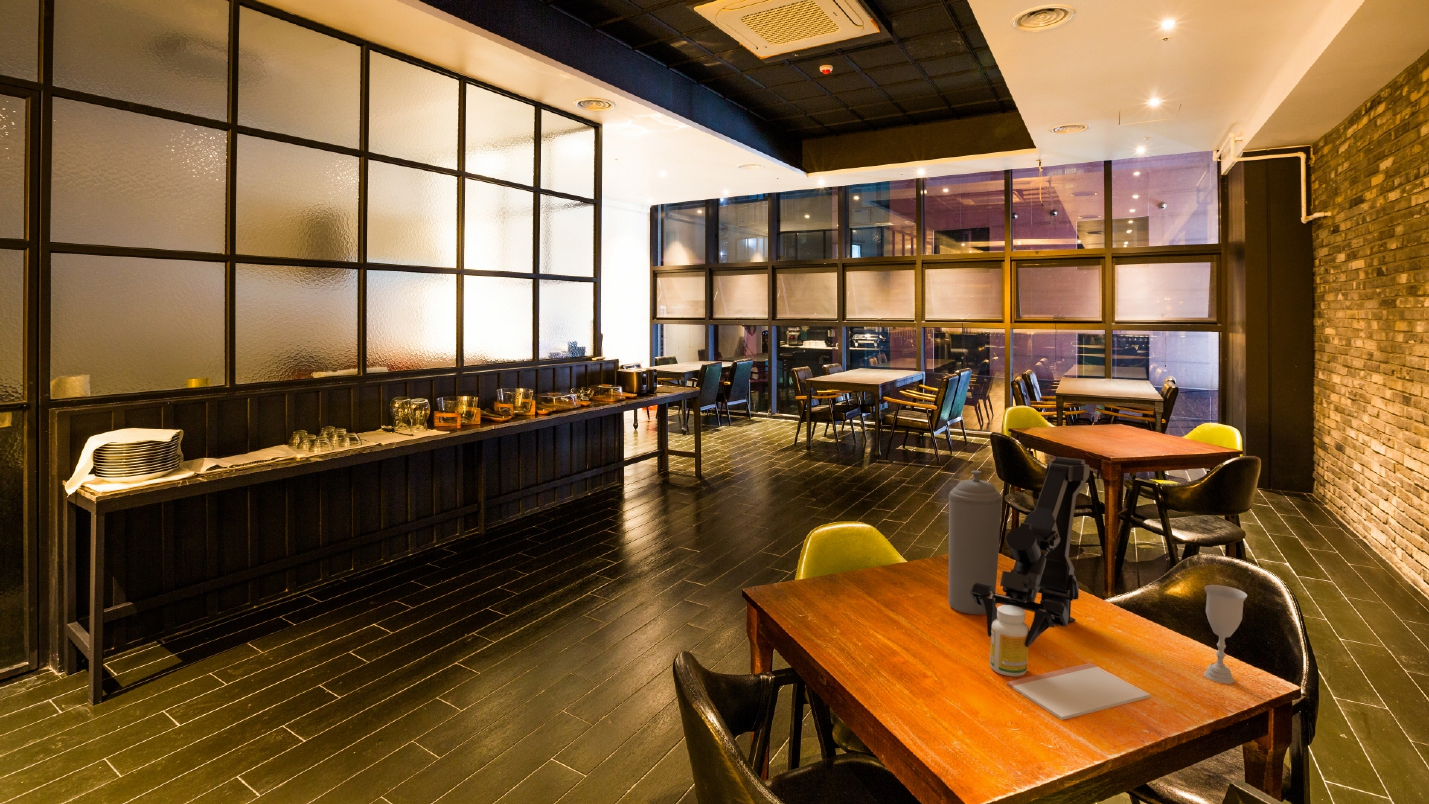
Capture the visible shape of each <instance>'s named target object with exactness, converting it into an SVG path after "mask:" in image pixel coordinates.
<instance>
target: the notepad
mask: <svg viewBox="0 0 1429 804" xmlns="http://www.w3.org/2000/svg"><path fill="white" fill-rule="evenodd" d="M1006 685H1007V687H1009V688H1011V689H1012V688H1013V689H1012V690H1014V691H1016V692H1017V693H1019V694H1020V693H1021V694H1020V695H1022V696H1023V697H1025V698H1026V699H1028V700H1029V701H1030V702H1032V703H1034V704H1036V705H1037V706H1039V707H1040V708H1042V709H1043V710H1045V711H1047V712H1048V713H1049V714H1052V715H1053V716H1054V717H1056V718H1058V719H1059V720H1060V721H1063V720H1067V719H1068V720H1069V719H1072V718H1075V717H1079V716H1082V715H1087V714H1091V713H1095V712H1099V711H1102V710H1106V709H1110V708H1114V707H1117V706H1121V705H1126V704H1129V703H1133V702H1137V701H1141V700H1145V699H1149V698H1151V694H1150V693H1148V692H1146V691H1144V690H1143V689H1140V688H1139V687H1137V686H1136V685H1133V684H1131V683H1129V682H1127V681H1126V680H1123V679H1122V678H1120V677H1118V676H1116V675H1114V674H1112V673H1110V672H1108V671H1106V670H1104V669H1103V668H1101V667H1099V666H1097V665H1096V664H1094V663H1091V662H1089V663H1084V664H1080V665H1076V666H1071V667H1066V668H1062V669H1057V670H1054V671H1048V672H1044V673H1040V674H1037V675H1031V676H1027V677H1023V678H1018V679H1014V680H1010V681H1006Z"/></svg>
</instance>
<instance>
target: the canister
mask: <svg viewBox="0 0 1429 804" xmlns="http://www.w3.org/2000/svg"><path fill="white" fill-rule="evenodd" d="M970 473H971V474H972V475H973V478H972V479H964V480H961V481H959V483H958V484H956V486H955V487H953V488H952V490H950V492H949V494H948V604H949V606H950V607H951V609H953V610H955V611H958V612H959V613H963V614H967V615H968V614H969V615H975V616H976V615H979V616H980V615H982V616H983V615H986V610H984V608H983V606H979V605H977V604H975V602H974V600H973V598H972V596H971V594H970V590H971V587H972V586H973V585H974V584H975V583H979V584H984V585H988V586H992V588H993V590H994V592H995V593H997V592H996V590H997V576H998V565H999V564H998V562H999V549H1000V533H1001V532H1000V531H1001V521H1002V520H1001V519H1002V518H1001V517H1002V505H1003V503H1002V502H1004V499H1003V497H1002V496H1003V495H1002V494H1001V493H1000V492H999V490H997V489H996V487H995V485H993V484H992V483H991V482H989V481H986V480H981V479H980V477H979V475H981V474H982V471H981V470H971V472H970Z"/></svg>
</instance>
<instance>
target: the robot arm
mask: <svg viewBox="0 0 1429 804" xmlns="http://www.w3.org/2000/svg"><path fill="white" fill-rule="evenodd" d="M1090 472H1091V467H1090V465H1089V464H1086V460H1085V459H1080V458H1072V457H1071V458H1069V457H1061V456H1056V457H1055V458H1054V460H1049V461H1047V462H1046V470H1045V479H1044V482H1043V485H1042V487H1041V488H1042V489H1041V491H1040V494H1039V497H1038V499H1037V503H1036V506H1035V508H1034V509H1033V511H1032V512H1031V513H1029V514H1027V515H1026V516H1025V518H1024V520H1023V522H1021V523H1020V525H1019V526H1018V527H1014V528H1013V529H1011V530H1010V531H1009V532H1008V533H1007V534H1006V543H1007V545H1008V548H1009V551H1010V553H1011V556H1012V558H1013V559H1014V560H1015V563H1014V566H1013V568H1012V569H1011V570H1010V571H1007V570H1002V572H1001V578H1000V583H999V586H1000V587H1002V588H1001V590H1002V592H1003V593H1005V594H1001V593H998V592H996V593H995V592H994V590H993V588H992V586H988V585H984V584H979V583H975V584H974V585H973V586H972V587H971V590H970V594H971V596H972V598H973V600H974V602H975V604H977V605H979V606H983V608H984V610H986V614H985V615H986V632H987V636H988V637H989V638H991V628H992V623H993V621H994V620H995V619H997V608H998V607H997V605H998V604H1000V605H1012V606H1017V607H1020V608H1022V609H1023V610H1024V611H1029V612H1032V613H1034V615H1033V620H1032V623H1031V625H1030V627H1029V633H1028V636H1027V639H1026V643H1025V646H1026V647H1028V648H1029V647H1030V646H1031V645H1032V644H1033V643H1034V642H1035V641H1036V640H1037V639H1038V637H1039V636H1041V635H1042V634H1043V633H1044V632H1045V631H1046V630H1048V629H1049V628H1054V629H1055V627H1056V626H1060V627H1063V628H1065V627H1067V626H1068V624H1069V623H1074V622H1076V620H1077V619H1075V618H1073V617H1072V616H1071V607H1072V602H1073V601H1074V600H1079V594H1080V593H1079V592H1080V591H1079V584H1078V580H1077V578H1076V575H1075V566H1074V564H1073V563H1072V560H1071V559H1070V556H1069V554H1070V548H1071V547H1070V546H1071V539H1072V531H1073V525H1074V518H1075V517H1074V515H1075V509H1076V502H1077V501H1076V500H1077V496H1078V495H1079V494H1080V493H1081V492H1082V490H1084V488H1085V486H1086V482H1087V480H1088V479H1089V478H1090ZM1043 551H1045V552H1047V553H1045V554H1044V553H1043ZM1038 594H1040V595H1041V597H1040V600H1039V602H1035V601H1036V598H1037V595H1038Z"/></svg>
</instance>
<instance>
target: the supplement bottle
mask: <svg viewBox="0 0 1429 804" xmlns="http://www.w3.org/2000/svg"><path fill="white" fill-rule="evenodd" d="M996 608H997V619H995V620H994V621H993V623H992V628H991V637H990V649H989V650H990V651H989V665H990V668H991V670H992V671H994V672H996V673H998V674H999V675H1002V676H1007V677H1013V678H1016V677H1021V676H1024V675H1025V674H1026V673H1027V671H1028V663H1029V662H1028V660H1029V647H1026V646H1025V643H1026V639H1027V636H1028V633H1029V630H1030V627H1029V626H1028V624H1026V622H1025V621H1026V610H1024V609H1022V608H1020V607H1017V606H1012V605H1004V604H1001V605H1000V606H998V607H996Z"/></svg>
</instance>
